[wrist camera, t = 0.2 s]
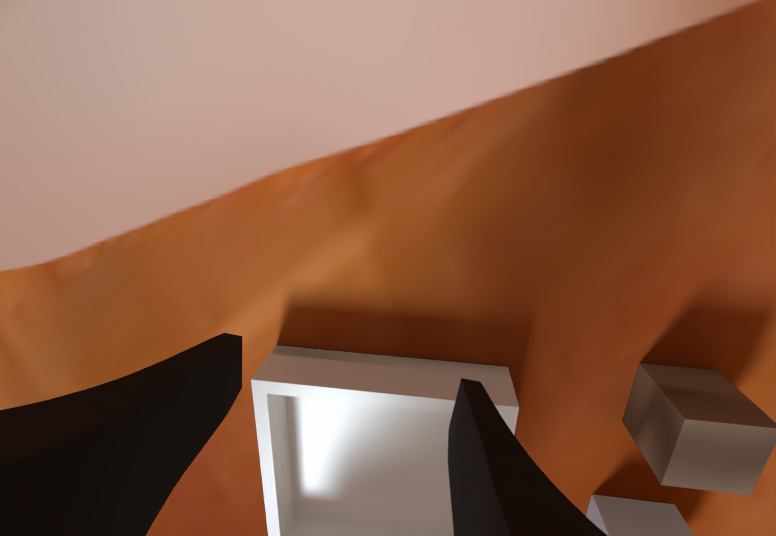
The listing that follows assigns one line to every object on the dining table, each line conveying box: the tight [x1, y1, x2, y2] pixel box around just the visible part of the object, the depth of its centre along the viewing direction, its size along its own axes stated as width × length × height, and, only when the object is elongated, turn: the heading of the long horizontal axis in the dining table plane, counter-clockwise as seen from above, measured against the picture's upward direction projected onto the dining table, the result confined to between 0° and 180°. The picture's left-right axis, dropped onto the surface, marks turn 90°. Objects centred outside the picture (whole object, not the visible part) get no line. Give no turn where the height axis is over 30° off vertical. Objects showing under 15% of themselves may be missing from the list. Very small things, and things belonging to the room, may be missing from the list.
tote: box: [251, 345, 519, 536], centre depth 25 cm, size 14×14×4 cm
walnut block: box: [622, 363, 776, 496], centre depth 21 cm, size 4×4×4 cm
